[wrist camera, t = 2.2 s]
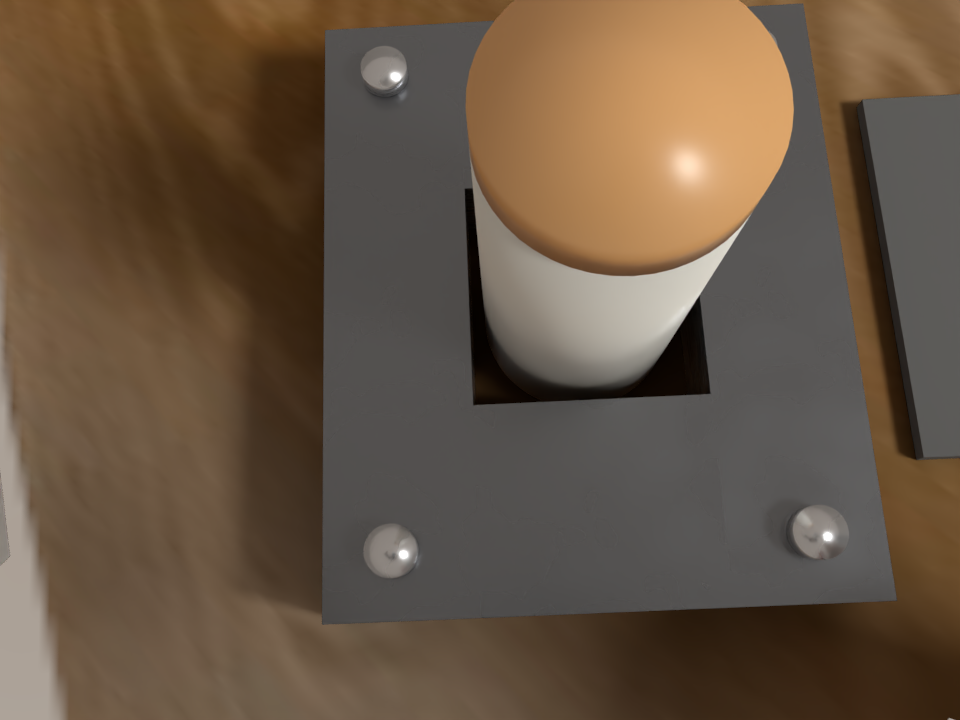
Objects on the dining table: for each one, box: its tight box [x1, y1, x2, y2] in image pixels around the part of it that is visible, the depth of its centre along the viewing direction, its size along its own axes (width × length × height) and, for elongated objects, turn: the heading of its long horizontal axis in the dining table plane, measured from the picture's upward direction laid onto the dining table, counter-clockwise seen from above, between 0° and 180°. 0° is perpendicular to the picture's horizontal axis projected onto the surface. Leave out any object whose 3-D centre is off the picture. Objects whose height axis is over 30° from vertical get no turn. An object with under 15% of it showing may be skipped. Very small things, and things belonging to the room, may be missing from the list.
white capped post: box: [466, 0, 794, 402], centre depth 22 cm, size 6×6×13 cm
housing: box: [322, 4, 897, 625], centre depth 26 cm, size 15×18×4 cm
